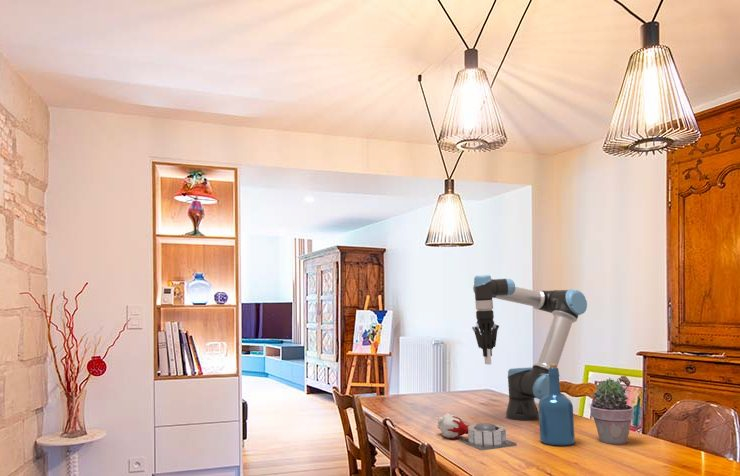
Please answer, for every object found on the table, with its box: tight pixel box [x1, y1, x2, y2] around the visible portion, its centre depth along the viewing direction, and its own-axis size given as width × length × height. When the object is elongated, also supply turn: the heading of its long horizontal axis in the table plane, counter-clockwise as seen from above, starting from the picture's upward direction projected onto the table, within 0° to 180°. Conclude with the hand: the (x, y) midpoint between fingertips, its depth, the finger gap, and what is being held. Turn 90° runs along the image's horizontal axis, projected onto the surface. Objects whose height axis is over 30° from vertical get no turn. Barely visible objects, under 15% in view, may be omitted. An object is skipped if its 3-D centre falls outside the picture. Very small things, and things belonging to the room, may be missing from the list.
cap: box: [475, 422, 496, 431], centre depth 223 cm, size 8×8×6 cm
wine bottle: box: [538, 364, 576, 447], centre depth 223 cm, size 14×13×30 cm
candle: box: [437, 412, 470, 440], centre depth 233 cm, size 9×11×15 cm
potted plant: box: [589, 375, 634, 445], centre depth 223 cm, size 18×20×25 cm
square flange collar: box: [458, 423, 518, 451], centre depth 223 cm, size 16×16×6 cm
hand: (488, 364), depth 249 cm, fingers closed
